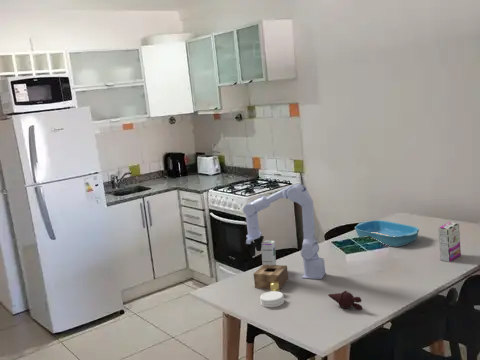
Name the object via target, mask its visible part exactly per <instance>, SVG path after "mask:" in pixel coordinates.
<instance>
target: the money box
mask: <svg viewBox="0 0 480 360" xmlns="http://www.w3.org/2000/svg"><path fill="white" fill-rule="evenodd" d="M288 271H289V270H288V266H287V265H280V264H279V265H278V264H276V265H261V266H259V267H258V269H257V270H256V271H255V272H254V273H253V279H254V280H253V281H254V288H255V289H266V290H267V289H269V290H271V287H270V283H271V282H279V290H281V289H282V288H283V286H284V285H285V284H286V283H287V282H288V280H289V273H288Z"/></svg>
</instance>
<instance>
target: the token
mask: <svg viewBox="0 0 480 360" xmlns="http://www.w3.org/2000/svg"><path fill="white" fill-rule="evenodd" d="M270 287H271V289H270V291H278V292H281V291H280V290H281V289H279V282H271V283H270Z"/></svg>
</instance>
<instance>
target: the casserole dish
mask: <svg viewBox="0 0 480 360" xmlns="http://www.w3.org/2000/svg"><path fill="white" fill-rule="evenodd" d="M354 229H355V232H356V234H357V236H358V237H359V238H360V237H364V236H371V237H373V238H375V239H377V240H379V241H381V242H382V243H384V244H387V245H390V246H389V247H392V246H399V247H402V245H403V246H406V245H408V244H411V243H412V242H414V241H416V239H417V238H418V234H419V231H420V228H419V227H416V226H414V225H409V224H403V223H400V222H395V221H394V222H393V221H389V220H381V219H375V220H368V221H367V220H366V221H362V222H360V223H358V224H357V225H356V226H354ZM371 232H378V233H382V234H385V235H386V234H387V235H389V236H385V235H380V234H376V233H371ZM393 236H395V237H393ZM407 243H408V244H407ZM405 244H406V245H405ZM387 245H386V246H387Z"/></svg>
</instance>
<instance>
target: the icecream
mask: <svg viewBox="0 0 480 360" xmlns="http://www.w3.org/2000/svg"><path fill="white" fill-rule="evenodd" d="M327 297H329V298H330V299H332V300H333V301H335V302H336V303H337V304H338V306H339V307H340V308H341V309H343V308H344V309H350V308H352V307H353V308H354V309H357V310H358V311H359V310H360V311H361V310H362V309H363V306H362V305H361V304H360V303H361V302H362V299H361V297H360V296H354V295H353V294H352V293H351V292H349V291H347V290H344V291H342V292H339V293H329V294H327Z"/></svg>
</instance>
